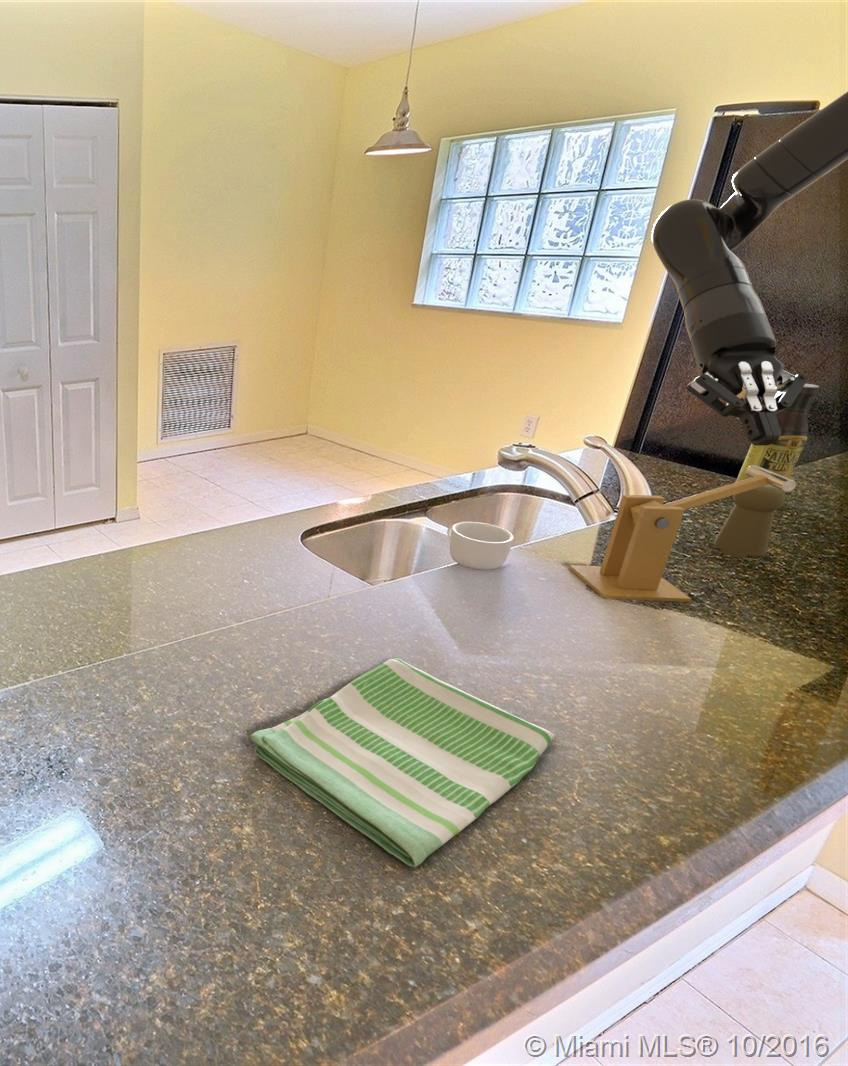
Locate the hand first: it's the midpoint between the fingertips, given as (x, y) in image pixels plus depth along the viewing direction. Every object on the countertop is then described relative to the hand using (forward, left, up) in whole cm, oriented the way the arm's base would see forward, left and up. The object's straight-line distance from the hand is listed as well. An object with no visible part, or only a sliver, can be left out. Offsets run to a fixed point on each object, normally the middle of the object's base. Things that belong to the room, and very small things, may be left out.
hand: (766, 442), depth 87 cm
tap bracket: (+7, +10, -20) cm, 23 cm away
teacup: (+24, +17, -20) cm, 36 cm away
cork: (+1, -14, -20) cm, 25 cm away
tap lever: (+2, +6, -8) cm, 10 cm away
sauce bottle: (+5, -46, -20) cm, 51 cm away
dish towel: (+8, +64, -20) cm, 68 cm away
